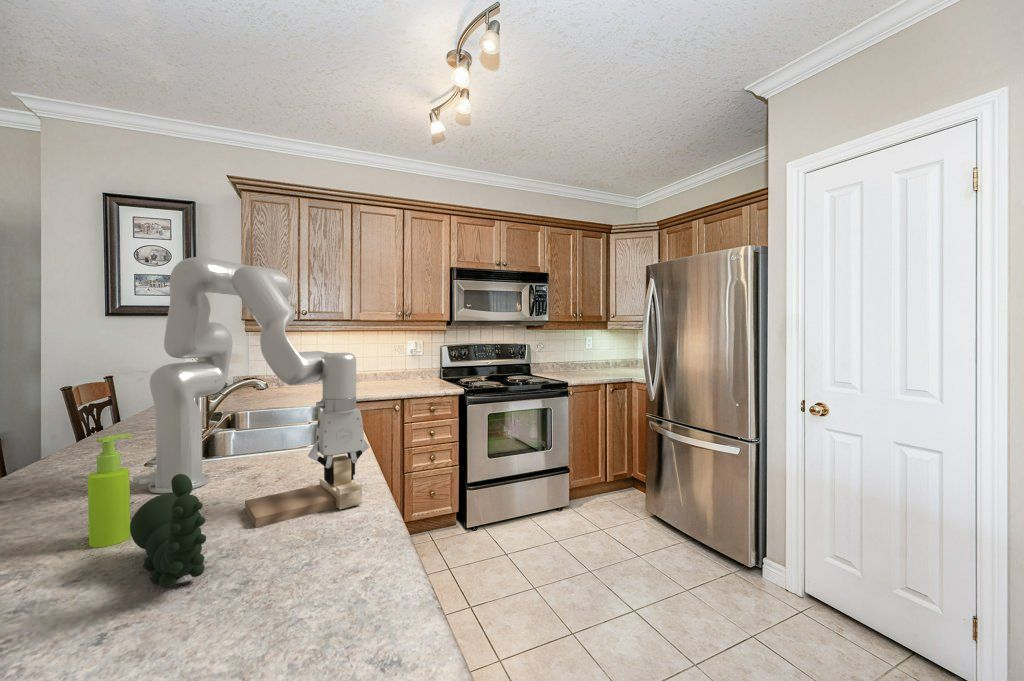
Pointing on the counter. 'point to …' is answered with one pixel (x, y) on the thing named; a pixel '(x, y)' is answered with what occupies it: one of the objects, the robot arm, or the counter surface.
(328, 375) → the robot arm
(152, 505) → the toy figurine
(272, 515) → the walnut board
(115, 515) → the soap dispenser
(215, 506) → the counter surface
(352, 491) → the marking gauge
